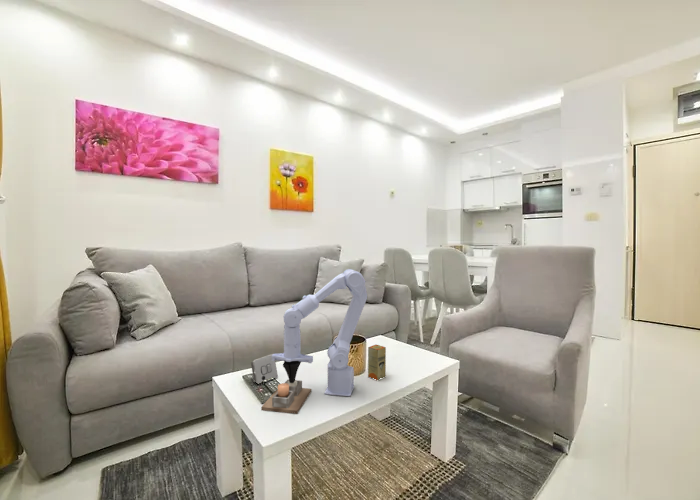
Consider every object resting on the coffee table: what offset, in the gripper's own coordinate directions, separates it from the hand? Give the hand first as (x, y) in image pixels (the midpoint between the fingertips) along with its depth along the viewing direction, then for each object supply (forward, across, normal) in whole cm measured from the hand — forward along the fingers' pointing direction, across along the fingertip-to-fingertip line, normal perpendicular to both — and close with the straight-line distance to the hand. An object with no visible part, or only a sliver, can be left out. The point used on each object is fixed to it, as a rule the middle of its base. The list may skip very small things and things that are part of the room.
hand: (292, 381), depth 109 cm
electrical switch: (+5, -15, +9) cm, 18 cm away
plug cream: (+3, 0, 0) cm, 3 cm away
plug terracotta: (+1, 0, -8) cm, 8 cm away
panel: (+5, 0, -4) cm, 6 cm away
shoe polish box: (+5, +28, +20) cm, 35 cm away
